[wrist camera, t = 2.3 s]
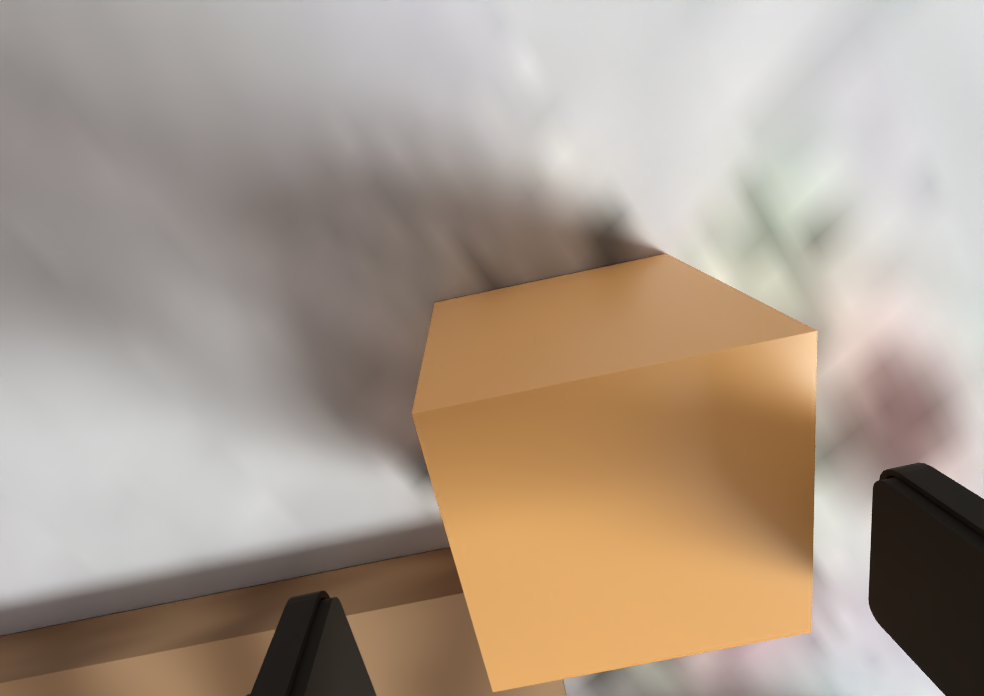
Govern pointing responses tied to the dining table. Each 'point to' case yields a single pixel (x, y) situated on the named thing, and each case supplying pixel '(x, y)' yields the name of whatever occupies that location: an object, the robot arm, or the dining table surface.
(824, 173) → the dining table surface
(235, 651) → the board
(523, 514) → the solid orange cube
